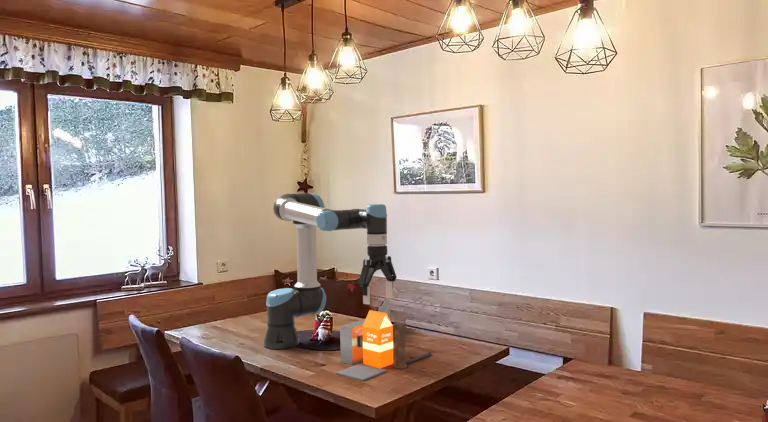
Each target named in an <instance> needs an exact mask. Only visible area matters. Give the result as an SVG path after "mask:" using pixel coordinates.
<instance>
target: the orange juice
mask: <svg viewBox="0 0 768 422" xmlns="http://www.w3.org/2000/svg"><path fill="white" fill-rule="evenodd" d="M365 319H366V320H365V322H364V324H363V361H362V362H363V363H362V364H364V365H368V366H372V367H376V368H381V369H383V368H385V367H387V366H390V365H394V327H393V324H392V321H391V319H390V320H389V318H388V316H387V314H386V313H383V312H377V311H376V310H371V309H369V311H368V313H367V315H366V317H365Z"/></svg>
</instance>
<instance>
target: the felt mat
mask: <svg viewBox="0 0 768 422" xmlns="http://www.w3.org/2000/svg"><path fill="white" fill-rule="evenodd" d="M385 373H387V369H385V368H377V367H373V366H369V365H366V364H363V363H356V364H353V365H351V366H349V367H347V368H344V369H341V370H339V371H336V372H335V374H336V375H338V376H342V377H346V378H349V379H353V380H355V381H356V380H357V381H360V382H365V381H368V380H370V379H372V378H374V377H376V376H379V375H382V374H385Z"/></svg>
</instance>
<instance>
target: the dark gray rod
mask: <svg viewBox="0 0 768 422" xmlns="http://www.w3.org/2000/svg"><path fill="white" fill-rule="evenodd" d="M432 355H433V354H432V352H431V351H429V352H427V353H424V354H421V355H418V356H417V357H414V358H411V359H409V360H407V361H406V360H405V363H406V364H407V366H408V365H410V364H413V363H415V362H417V361H420V360H423V359H425V358H427V357H429V356H432Z"/></svg>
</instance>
